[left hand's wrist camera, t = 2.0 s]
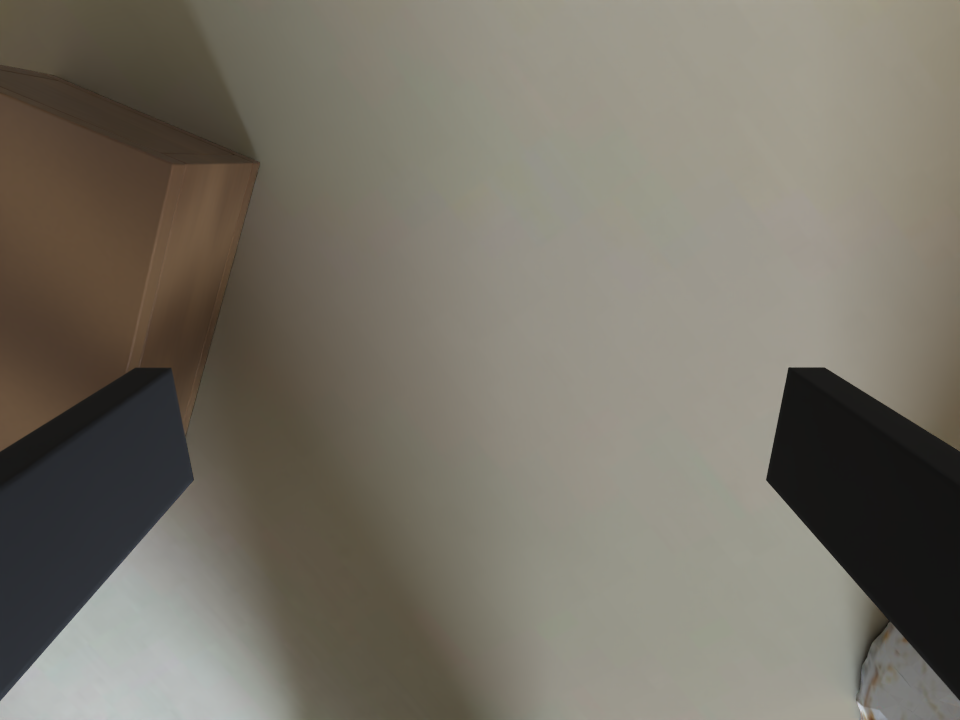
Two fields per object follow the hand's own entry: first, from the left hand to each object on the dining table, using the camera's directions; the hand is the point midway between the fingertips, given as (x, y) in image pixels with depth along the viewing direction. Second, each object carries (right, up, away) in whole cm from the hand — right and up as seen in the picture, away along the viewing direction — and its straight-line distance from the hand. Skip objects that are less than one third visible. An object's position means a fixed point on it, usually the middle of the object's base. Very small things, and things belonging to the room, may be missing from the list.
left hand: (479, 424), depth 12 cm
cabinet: (-20, +6, +19) cm, 28 cm away
